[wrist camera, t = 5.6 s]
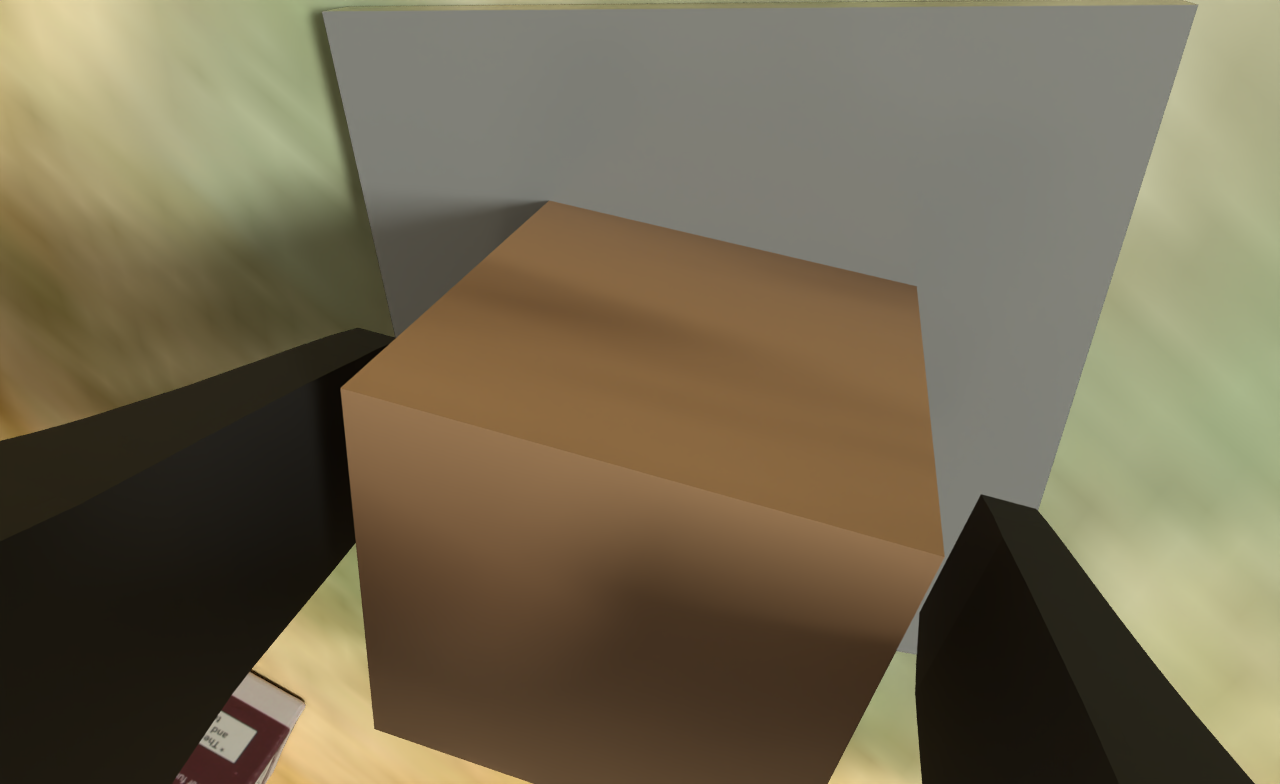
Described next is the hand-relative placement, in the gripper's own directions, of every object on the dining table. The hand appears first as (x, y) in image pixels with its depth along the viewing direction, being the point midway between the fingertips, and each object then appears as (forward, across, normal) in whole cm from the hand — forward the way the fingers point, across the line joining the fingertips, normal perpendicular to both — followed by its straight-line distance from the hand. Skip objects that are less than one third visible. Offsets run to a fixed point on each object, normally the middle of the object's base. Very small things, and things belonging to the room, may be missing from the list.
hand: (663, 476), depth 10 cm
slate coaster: (+3, 0, 0) cm, 3 cm away
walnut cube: (+2, 0, 0) cm, 2 cm away
